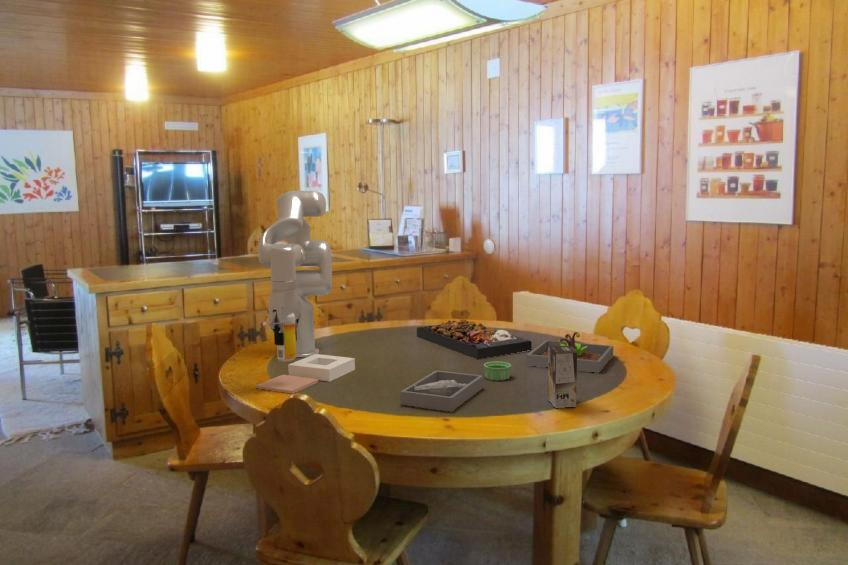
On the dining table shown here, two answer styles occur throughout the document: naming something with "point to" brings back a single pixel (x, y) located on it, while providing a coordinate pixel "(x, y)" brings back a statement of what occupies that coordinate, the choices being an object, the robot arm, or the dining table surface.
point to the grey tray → (440, 401)
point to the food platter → (473, 339)
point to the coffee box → (562, 376)
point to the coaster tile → (287, 384)
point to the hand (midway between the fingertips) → (285, 342)
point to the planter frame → (582, 365)
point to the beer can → (288, 340)
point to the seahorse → (440, 388)
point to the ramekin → (497, 370)
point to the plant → (577, 348)
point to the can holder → (322, 367)
